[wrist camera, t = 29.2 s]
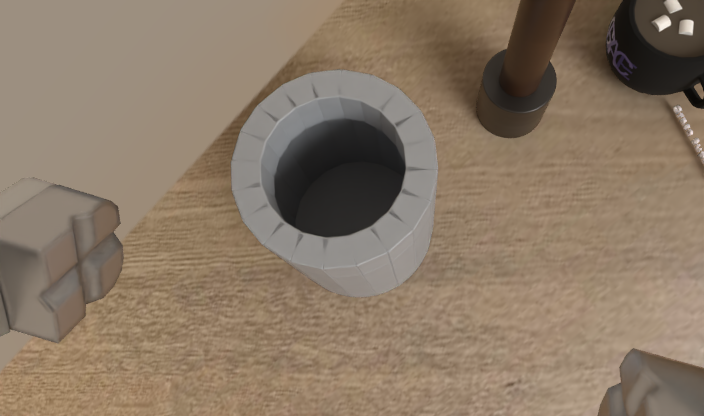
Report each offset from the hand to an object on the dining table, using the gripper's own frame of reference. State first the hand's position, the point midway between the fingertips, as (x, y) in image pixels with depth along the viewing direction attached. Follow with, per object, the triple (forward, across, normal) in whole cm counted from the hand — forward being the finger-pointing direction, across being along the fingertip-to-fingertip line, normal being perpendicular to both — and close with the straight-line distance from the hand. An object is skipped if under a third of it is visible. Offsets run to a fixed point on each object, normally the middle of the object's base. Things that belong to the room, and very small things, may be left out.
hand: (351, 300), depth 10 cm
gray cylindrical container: (+23, +4, +14) cm, 27 cm away
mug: (+32, -12, +6) cm, 34 cm away
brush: (+30, -3, +8) cm, 31 cm away
